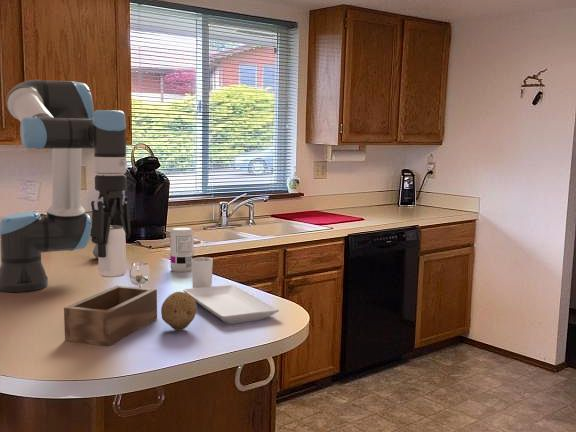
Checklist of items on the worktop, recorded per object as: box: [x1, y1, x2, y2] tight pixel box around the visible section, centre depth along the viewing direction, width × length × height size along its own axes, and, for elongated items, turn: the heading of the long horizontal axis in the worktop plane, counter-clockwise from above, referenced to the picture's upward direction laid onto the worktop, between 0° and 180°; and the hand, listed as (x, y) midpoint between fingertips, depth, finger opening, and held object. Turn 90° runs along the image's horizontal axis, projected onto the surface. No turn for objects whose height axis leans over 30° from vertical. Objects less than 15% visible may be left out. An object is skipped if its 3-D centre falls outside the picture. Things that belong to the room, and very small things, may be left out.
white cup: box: [191, 256, 214, 288], centre depth 197 cm, size 7×7×10 cm
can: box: [98, 224, 127, 278], centre depth 155 cm, size 6×6×12 cm
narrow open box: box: [63, 285, 158, 347], centre depth 158 cm, size 12×23×8 cm, turn 164°
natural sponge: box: [160, 291, 198, 332], centre depth 157 cm, size 9×9×10 cm
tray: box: [182, 284, 280, 324], centre depth 177 cm, size 17×31×4 cm, turn 28°
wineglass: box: [128, 261, 151, 288], centre depth 180 cm, size 6×6×12 cm
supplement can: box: [169, 226, 195, 273], centre depth 226 cm, size 8×8×15 cm
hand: (112, 266), depth 156 cm, fingers closed on can, 6 cm apart
